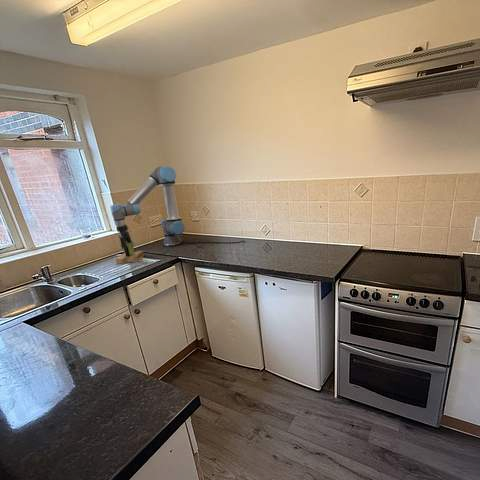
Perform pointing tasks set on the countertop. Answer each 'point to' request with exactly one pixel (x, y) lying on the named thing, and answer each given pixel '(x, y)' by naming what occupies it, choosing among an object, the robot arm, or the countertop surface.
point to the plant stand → (130, 257)
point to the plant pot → (130, 248)
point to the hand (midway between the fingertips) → (130, 254)
